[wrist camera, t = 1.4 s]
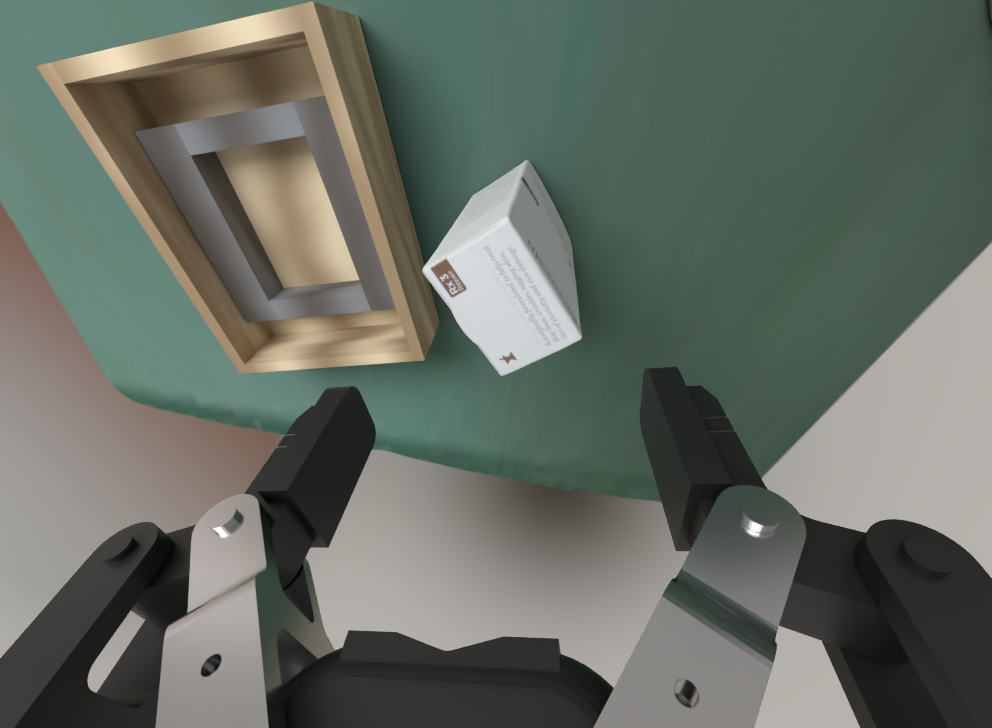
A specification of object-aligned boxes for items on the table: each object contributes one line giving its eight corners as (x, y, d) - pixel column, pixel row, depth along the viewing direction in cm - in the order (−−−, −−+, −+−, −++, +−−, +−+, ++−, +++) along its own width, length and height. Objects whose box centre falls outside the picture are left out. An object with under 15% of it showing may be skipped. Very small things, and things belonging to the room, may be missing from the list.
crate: (358, 16, 20) (313, 1, 16) (439, 322, 30) (424, 360, 26) (126, 67, 22) (36, 65, 18) (277, 336, 33) (240, 373, 29)
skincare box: (574, 241, 26) (595, 342, 16) (515, 274, 27) (503, 384, 18) (526, 152, 23) (517, 210, 13) (464, 195, 25) (416, 274, 15)
